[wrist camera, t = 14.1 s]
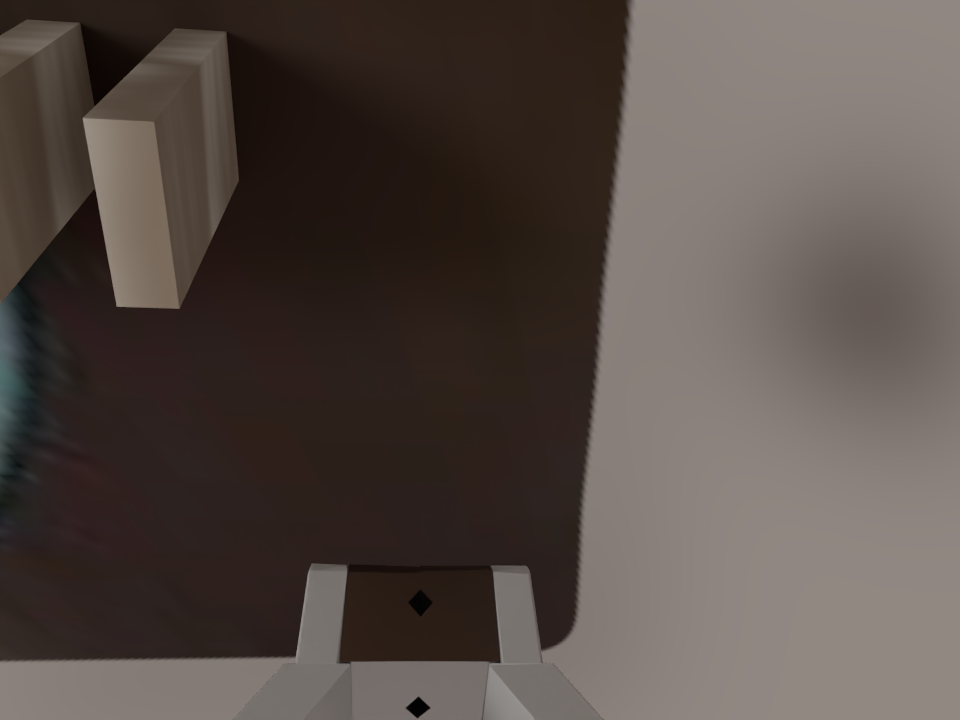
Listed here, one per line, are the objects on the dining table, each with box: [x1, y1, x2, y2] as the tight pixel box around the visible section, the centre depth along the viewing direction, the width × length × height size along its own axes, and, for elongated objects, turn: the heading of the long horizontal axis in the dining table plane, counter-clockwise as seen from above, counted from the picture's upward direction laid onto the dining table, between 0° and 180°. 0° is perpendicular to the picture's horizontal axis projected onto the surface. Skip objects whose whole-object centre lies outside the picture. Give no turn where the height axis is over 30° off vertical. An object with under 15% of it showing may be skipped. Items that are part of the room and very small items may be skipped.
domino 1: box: [0, 20, 95, 303], centre depth 25 cm, size 2×5×9 cm, turn 176°
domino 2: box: [83, 29, 239, 309], centre depth 25 cm, size 2×5×9 cm, turn 176°
